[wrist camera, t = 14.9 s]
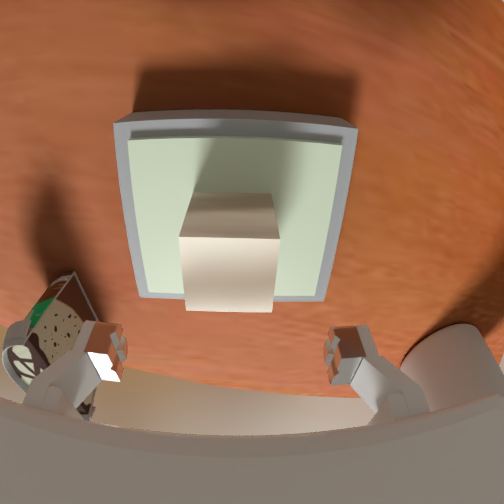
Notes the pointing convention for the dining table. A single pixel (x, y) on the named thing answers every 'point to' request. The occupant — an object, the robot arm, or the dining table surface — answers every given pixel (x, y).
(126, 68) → the dining table surface
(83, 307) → the food container
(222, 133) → the base
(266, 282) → the cream block
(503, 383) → the cylinder vase
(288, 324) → the dining table surface
